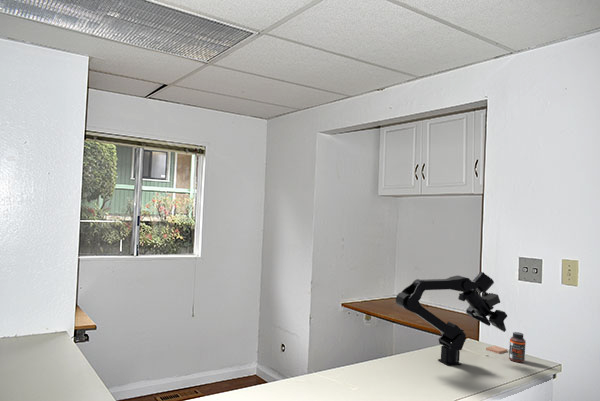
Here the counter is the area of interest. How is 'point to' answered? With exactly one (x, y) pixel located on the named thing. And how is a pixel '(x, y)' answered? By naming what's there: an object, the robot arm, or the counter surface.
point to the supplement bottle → (517, 347)
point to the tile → (496, 349)
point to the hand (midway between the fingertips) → (497, 328)
